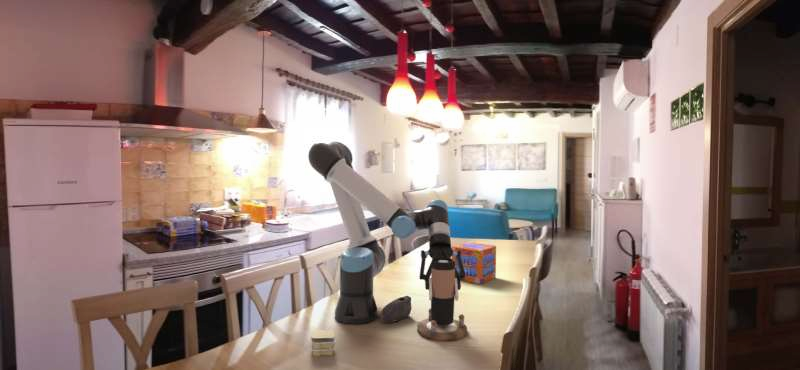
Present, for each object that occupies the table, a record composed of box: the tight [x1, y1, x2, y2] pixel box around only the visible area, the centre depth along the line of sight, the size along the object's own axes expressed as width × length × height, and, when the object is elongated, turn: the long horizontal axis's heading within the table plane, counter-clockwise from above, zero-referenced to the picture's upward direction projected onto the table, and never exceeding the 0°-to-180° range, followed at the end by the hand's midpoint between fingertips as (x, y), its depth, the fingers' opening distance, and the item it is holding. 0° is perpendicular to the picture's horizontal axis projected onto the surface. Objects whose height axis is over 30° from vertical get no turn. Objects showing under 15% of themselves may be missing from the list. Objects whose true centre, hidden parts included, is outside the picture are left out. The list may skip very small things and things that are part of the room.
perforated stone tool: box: [380, 295, 413, 324], centre depth 144 cm, size 15×5×7 cm, turn 136°
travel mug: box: [430, 257, 455, 325], centre depth 134 cm, size 8×8×20 cm
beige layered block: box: [310, 329, 336, 357], centre depth 119 cm, size 10×9×6 cm
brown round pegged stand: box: [416, 307, 468, 343], centre depth 134 cm, size 16×16×6 cm
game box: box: [451, 241, 497, 285], centre depth 199 cm, size 16×16×16 cm
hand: (443, 298), depth 131 cm, fingers closed on travel mug, 7 cm apart
